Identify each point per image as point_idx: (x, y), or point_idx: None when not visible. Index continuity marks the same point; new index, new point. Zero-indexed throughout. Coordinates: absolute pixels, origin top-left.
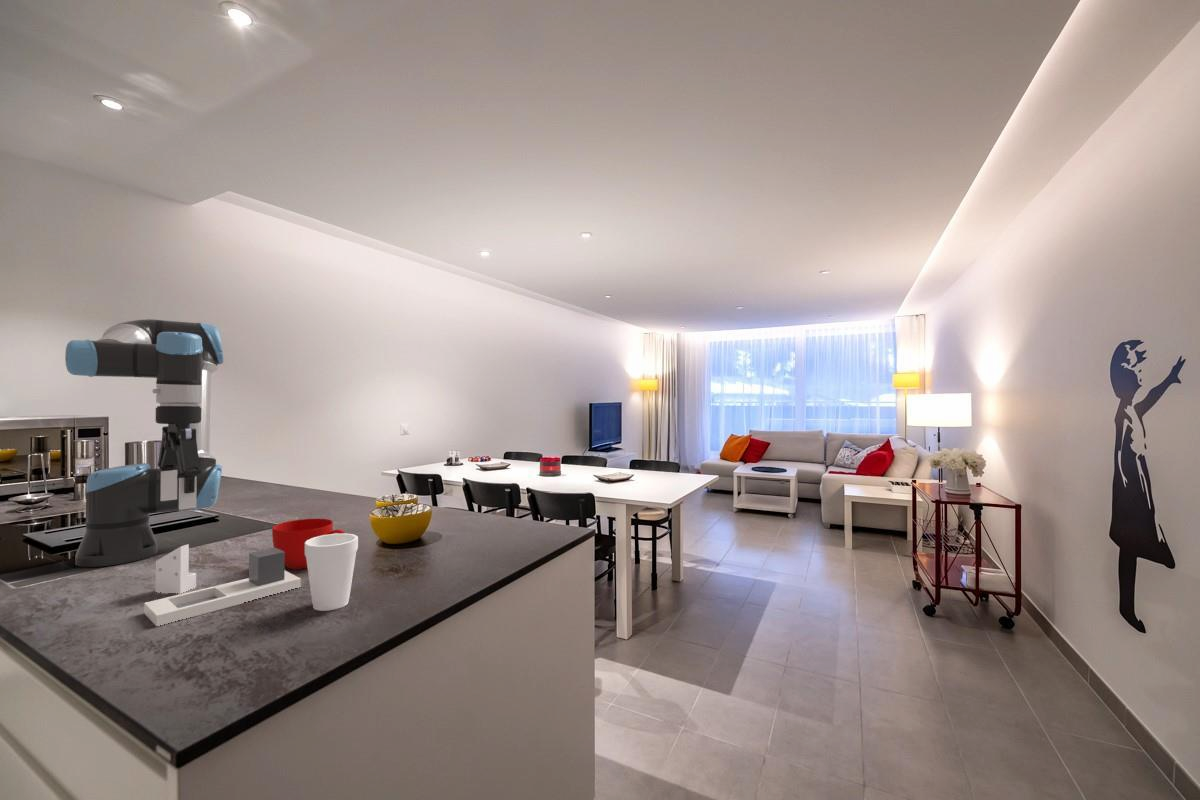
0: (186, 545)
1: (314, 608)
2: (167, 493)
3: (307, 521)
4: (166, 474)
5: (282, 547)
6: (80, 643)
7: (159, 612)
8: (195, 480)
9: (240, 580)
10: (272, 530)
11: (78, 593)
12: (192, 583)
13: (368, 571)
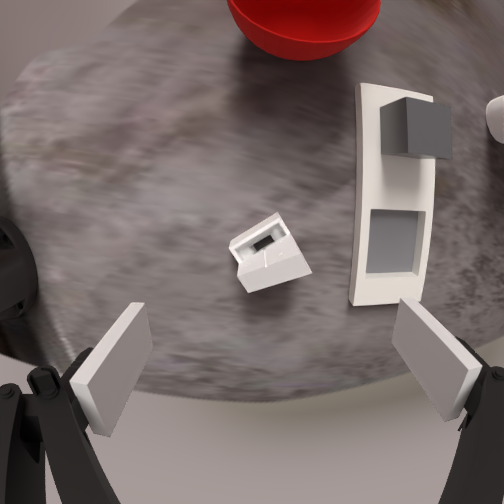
0: (303, 258)
1: (500, 142)
2: (141, 348)
3: None
4: (111, 411)
5: (332, 54)
6: (387, 357)
7: (412, 296)
8: (471, 358)
9: (366, 163)
10: (286, 41)
11: (157, 342)
12: (282, 220)
13: (416, 3)
